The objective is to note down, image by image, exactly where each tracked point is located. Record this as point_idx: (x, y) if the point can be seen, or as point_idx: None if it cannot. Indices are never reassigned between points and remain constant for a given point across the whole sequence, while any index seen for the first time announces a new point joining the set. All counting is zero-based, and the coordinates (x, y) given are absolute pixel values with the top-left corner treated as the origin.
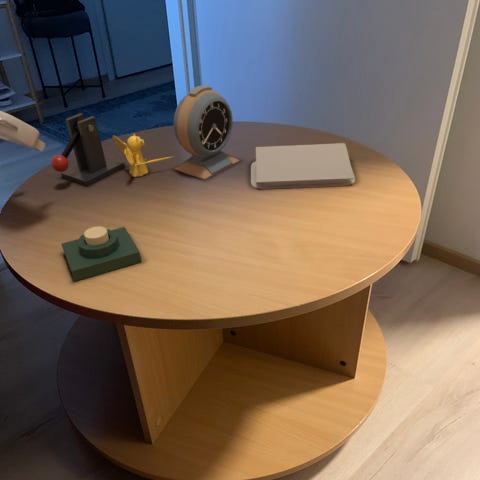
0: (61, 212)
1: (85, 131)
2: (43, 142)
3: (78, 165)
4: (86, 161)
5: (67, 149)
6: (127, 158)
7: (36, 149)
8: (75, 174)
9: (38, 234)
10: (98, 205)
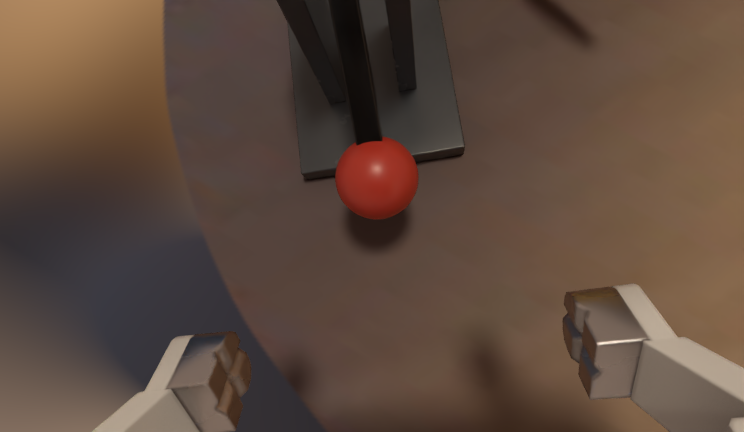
0: None
1: None
2: (644, 294)
3: (329, 96)
4: (337, 58)
5: (372, 97)
6: None
7: (571, 353)
8: None
9: None
10: (663, 214)
